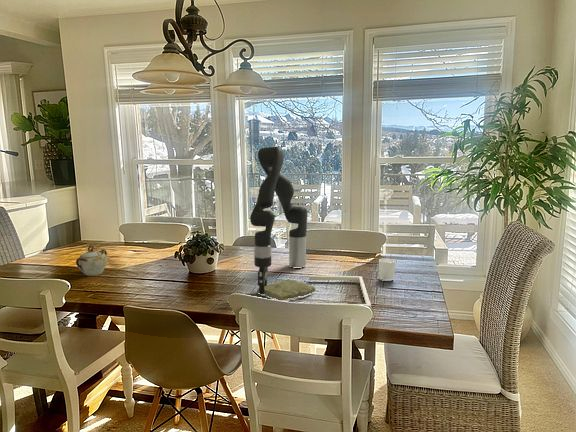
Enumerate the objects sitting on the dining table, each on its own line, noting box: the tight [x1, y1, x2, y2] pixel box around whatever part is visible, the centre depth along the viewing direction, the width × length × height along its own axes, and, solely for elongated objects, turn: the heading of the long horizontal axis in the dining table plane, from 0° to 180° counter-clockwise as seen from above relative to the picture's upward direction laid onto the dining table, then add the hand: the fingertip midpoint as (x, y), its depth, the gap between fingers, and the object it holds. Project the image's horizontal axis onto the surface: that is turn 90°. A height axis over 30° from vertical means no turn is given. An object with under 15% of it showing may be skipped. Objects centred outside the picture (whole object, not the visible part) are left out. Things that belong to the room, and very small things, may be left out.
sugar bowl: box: [75, 245, 109, 277], centre depth 215 cm, size 20×15×15 cm
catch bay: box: [308, 274, 372, 309], centre depth 183 cm, size 37×26×3 cm
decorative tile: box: [256, 278, 316, 300], centre depth 185 cm, size 19×20×4 cm
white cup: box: [378, 257, 396, 280], centre depth 203 cm, size 8×8×10 cm
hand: (263, 290), depth 185 cm, fingers open, 8 cm apart
